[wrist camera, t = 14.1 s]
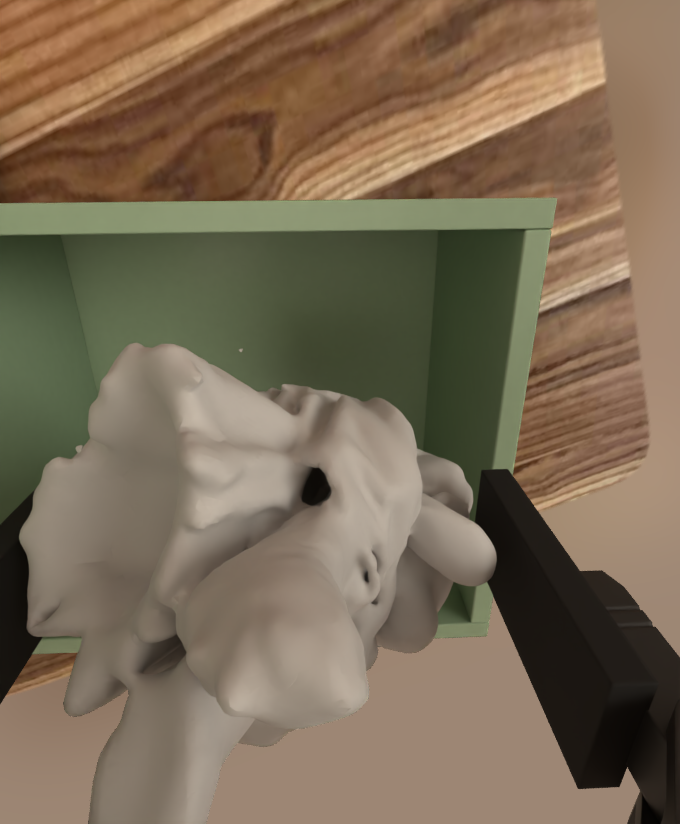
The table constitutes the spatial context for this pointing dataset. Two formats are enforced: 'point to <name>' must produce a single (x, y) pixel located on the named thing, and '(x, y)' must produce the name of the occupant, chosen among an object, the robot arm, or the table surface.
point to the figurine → (234, 567)
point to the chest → (278, 320)
